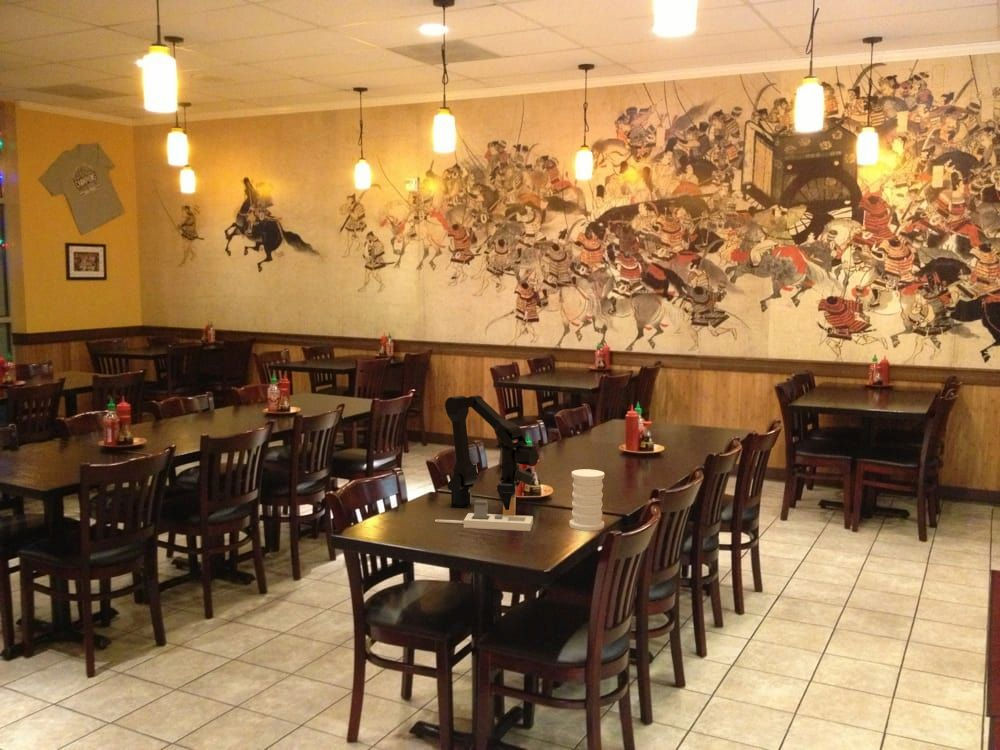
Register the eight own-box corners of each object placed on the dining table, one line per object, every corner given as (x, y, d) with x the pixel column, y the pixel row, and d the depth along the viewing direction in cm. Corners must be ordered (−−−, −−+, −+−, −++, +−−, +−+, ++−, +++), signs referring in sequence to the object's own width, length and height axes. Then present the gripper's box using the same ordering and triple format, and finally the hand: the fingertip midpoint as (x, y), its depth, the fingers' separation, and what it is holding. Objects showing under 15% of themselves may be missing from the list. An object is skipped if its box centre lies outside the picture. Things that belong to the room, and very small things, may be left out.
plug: (502, 517, 303) (503, 494, 302) (503, 514, 306) (504, 492, 305) (514, 517, 303) (514, 494, 302) (515, 515, 306) (515, 492, 305)
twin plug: (474, 525, 292) (474, 502, 291) (475, 523, 295) (475, 499, 294) (486, 526, 292) (486, 502, 291) (487, 523, 295) (487, 500, 294)
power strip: (432, 526, 291) (432, 516, 291) (437, 518, 300) (437, 509, 300) (530, 531, 287) (530, 521, 287) (532, 523, 296) (533, 513, 295)
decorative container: (568, 529, 289) (569, 475, 287) (570, 520, 300) (571, 468, 298) (603, 531, 287) (605, 477, 285) (604, 521, 299) (606, 469, 297)
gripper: (530, 468, 292) (529, 514, 294) (535, 457, 310) (534, 500, 312) (496, 467, 293) (496, 513, 295) (504, 456, 312) (503, 499, 314)
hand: (509, 506), depth 304 cm, fingers open, 9 cm apart
